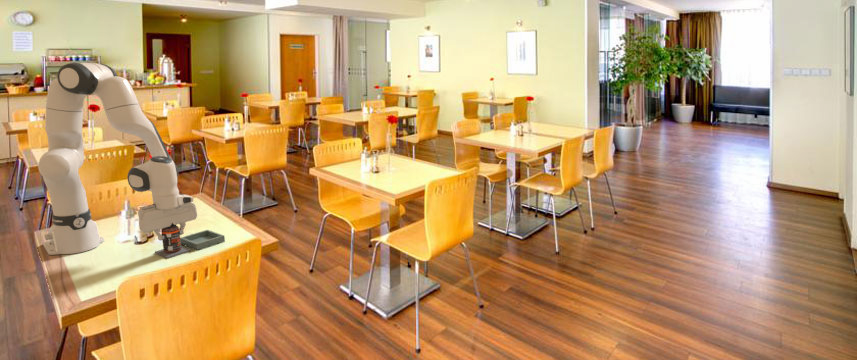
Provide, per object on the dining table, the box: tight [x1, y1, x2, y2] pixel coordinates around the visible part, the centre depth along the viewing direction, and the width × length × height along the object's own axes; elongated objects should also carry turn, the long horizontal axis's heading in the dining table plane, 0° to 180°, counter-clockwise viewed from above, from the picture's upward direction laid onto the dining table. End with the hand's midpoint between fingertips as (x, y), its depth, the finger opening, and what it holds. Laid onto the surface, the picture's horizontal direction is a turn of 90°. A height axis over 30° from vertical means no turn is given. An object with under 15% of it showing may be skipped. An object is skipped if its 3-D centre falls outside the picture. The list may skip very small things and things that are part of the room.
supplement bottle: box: [160, 223, 182, 253], centre depth 195 cm, size 6×6×11 cm
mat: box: [154, 245, 192, 260], centre depth 196 cm, size 9×9×1 cm
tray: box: [180, 229, 226, 251], centre depth 206 cm, size 12×12×2 cm
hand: (171, 237), depth 195 cm, fingers closed on supplement bottle, 6 cm apart
